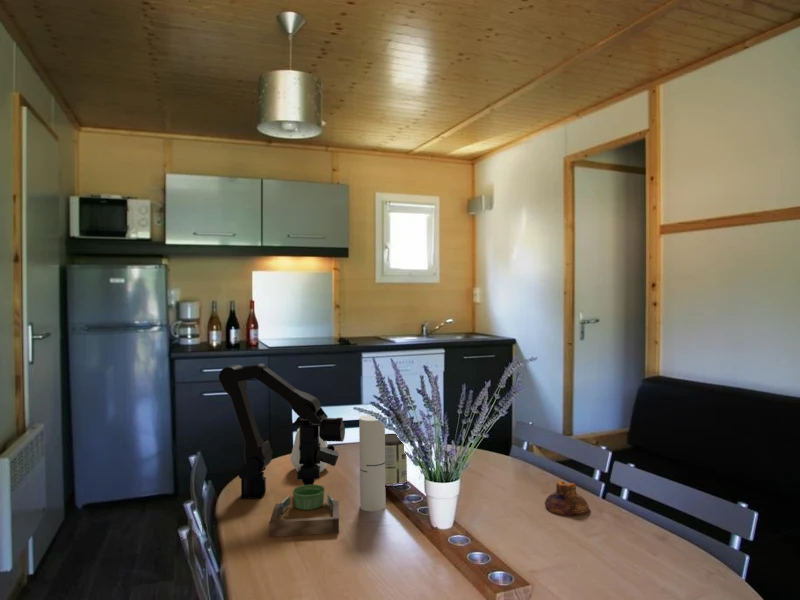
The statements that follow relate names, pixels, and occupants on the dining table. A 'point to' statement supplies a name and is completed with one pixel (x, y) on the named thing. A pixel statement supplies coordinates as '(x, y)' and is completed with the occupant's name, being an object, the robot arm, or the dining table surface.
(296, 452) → the cup
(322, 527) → the walnut dock
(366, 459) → the cylindrical container
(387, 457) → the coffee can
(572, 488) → the brown rounded necked piece
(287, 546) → the dining table surface
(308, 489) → the ramekin
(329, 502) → the bar
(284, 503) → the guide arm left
